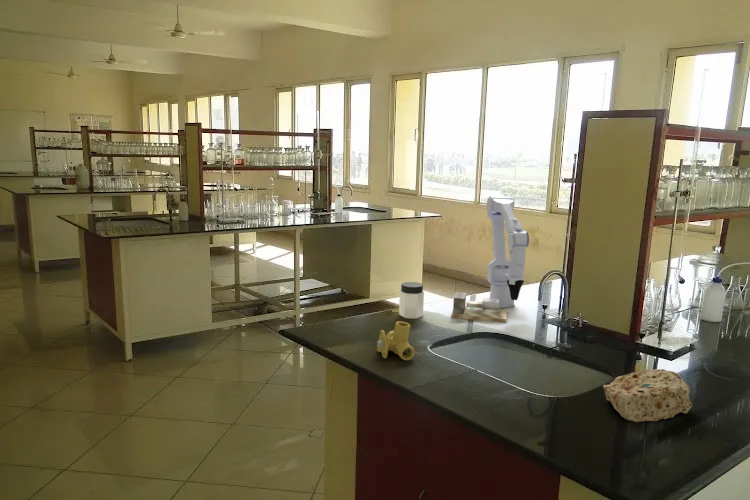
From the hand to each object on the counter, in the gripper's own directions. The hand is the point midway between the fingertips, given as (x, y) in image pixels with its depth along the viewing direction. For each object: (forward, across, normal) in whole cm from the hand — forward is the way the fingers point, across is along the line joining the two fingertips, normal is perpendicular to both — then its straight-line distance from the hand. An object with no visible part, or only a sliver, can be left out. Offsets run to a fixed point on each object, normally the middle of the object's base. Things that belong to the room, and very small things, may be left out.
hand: (514, 299), depth 208 cm
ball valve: (+8, +55, -26) cm, 61 cm away
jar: (+7, +15, -35) cm, 39 cm away
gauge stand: (+7, +2, -12) cm, 14 cm away
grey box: (+6, +3, -8) cm, 11 cm away
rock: (+8, +59, +44) cm, 74 cm away
